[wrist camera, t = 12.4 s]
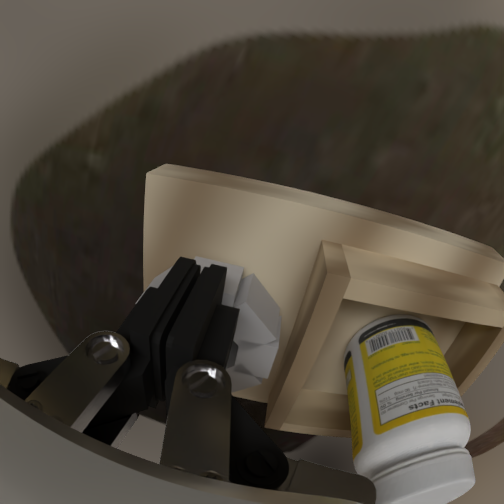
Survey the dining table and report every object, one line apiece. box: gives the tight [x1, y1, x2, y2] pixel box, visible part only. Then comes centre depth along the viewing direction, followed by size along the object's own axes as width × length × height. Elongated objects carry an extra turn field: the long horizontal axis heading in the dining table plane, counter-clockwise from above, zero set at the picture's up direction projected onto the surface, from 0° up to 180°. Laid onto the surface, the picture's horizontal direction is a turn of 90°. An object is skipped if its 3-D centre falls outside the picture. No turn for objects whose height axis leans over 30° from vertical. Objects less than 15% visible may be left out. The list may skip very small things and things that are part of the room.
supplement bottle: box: [344, 314, 475, 504], centre depth 10 cm, size 5×5×8 cm
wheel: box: [136, 256, 282, 393], centre depth 13 cm, size 6×6×2 cm
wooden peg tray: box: [143, 164, 504, 438], centre depth 13 cm, size 17×12×6 cm
